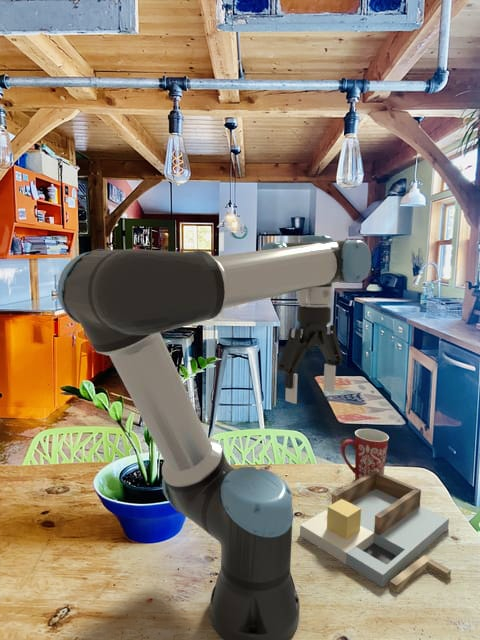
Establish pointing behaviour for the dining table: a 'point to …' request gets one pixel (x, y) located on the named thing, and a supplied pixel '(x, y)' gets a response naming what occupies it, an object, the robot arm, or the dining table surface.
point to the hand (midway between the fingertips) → (310, 396)
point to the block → (343, 518)
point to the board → (378, 538)
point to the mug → (367, 452)
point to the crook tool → (418, 572)
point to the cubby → (388, 485)
